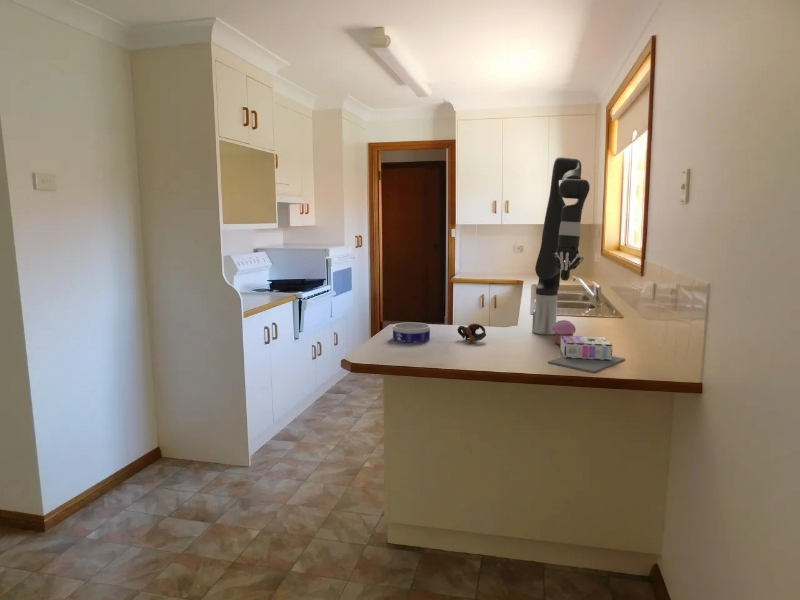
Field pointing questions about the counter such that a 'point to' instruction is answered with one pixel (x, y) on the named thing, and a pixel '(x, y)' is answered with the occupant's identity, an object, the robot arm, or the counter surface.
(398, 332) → the dog bowl
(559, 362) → the mat
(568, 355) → the candy box
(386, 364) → the counter surface
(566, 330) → the cupcake
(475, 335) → the brown curled figurine
